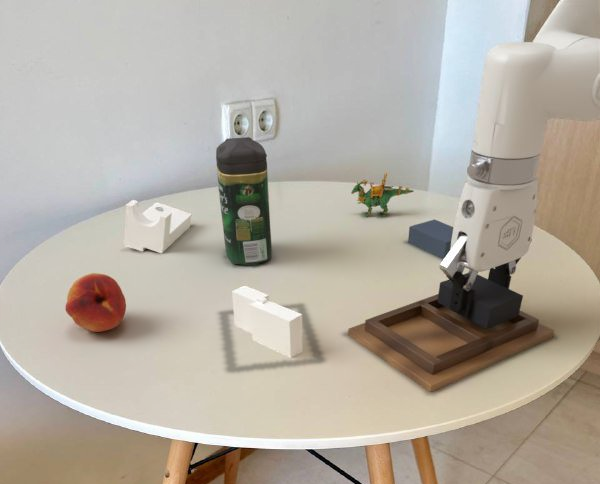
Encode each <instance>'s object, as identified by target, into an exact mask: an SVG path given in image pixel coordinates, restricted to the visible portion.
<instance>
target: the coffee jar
mask: <svg viewBox="0 0 600 484" xmlns="http://www.w3.org/2000/svg"><path fill="white" fill-rule="evenodd" d="M267 157H268V155H267V153H266V150H265V148H264V147H263V145H262V144H261V143H260V142H258V141H256V140H254V139H253V138H252V137H249V136H248V137H247V136H246V137H233V138H232V137H231V138H226V139H225V140H224V141H223V142H222V143H220V144H219V145H218V146H217V147H216V150H215V159H216V160H215V161H216V171H217V173H216V175H217V185H218V186H217V187H218V195H219V196H218V197H219V204H220V212H221V221H222V230H223V239H224V240H223V241H224V247H225V255H226V257H227V259H228V261H230V262H231V264H235V265H242V266H254V265H255V266H256V265H258V264H261V263H264V262H268V261H269V260H271V258H272V256H273V251H272V232H271V216H270V215H271V214H270V198H269V197H270V196H269V180H268V179H269V178H268V176H269V175H268V174H269V173H268V161H267Z"/></svg>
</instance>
